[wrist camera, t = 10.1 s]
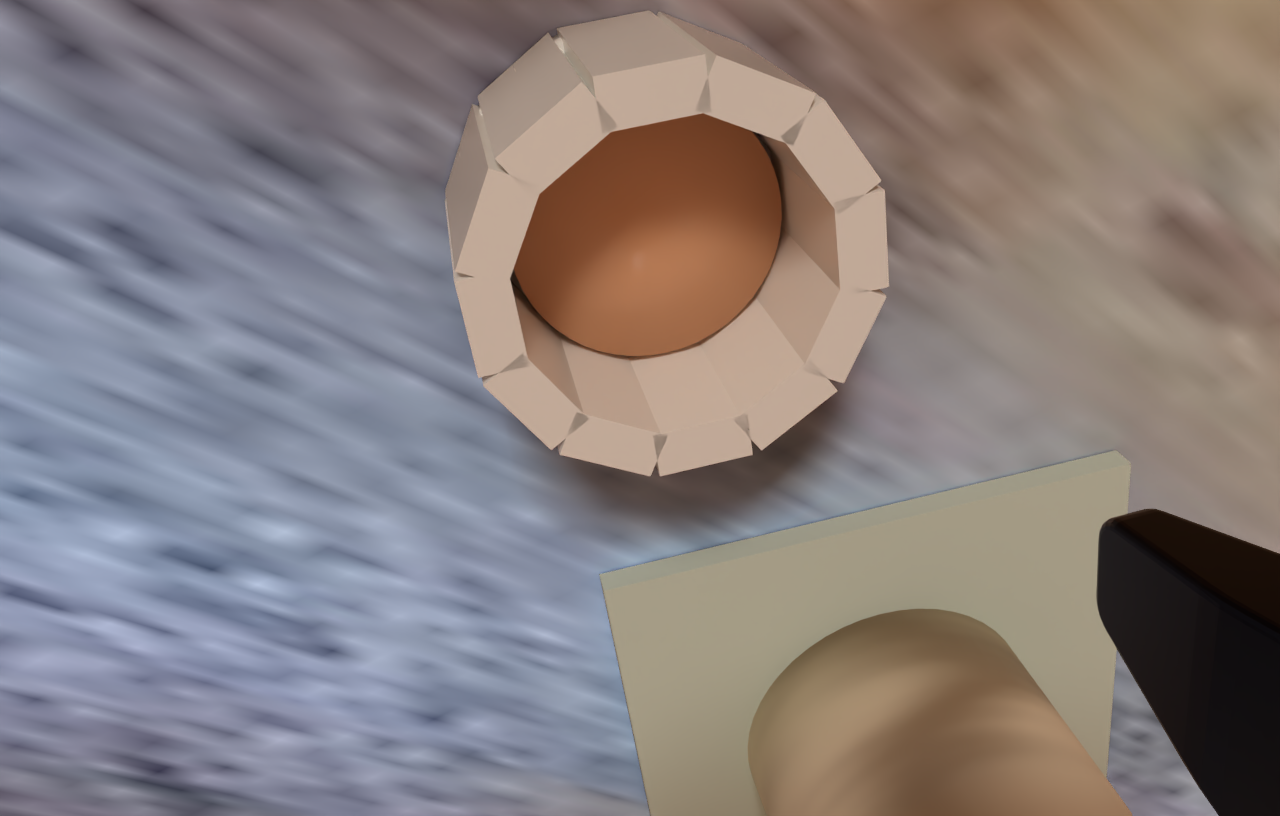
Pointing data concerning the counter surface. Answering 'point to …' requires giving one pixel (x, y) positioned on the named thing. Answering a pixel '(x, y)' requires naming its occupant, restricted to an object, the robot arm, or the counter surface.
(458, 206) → the bowl
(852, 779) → the beige rounded cylinder
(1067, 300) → the counter surface
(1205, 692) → the robot arm
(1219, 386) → the counter surface
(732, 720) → the mat
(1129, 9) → the counter surface
